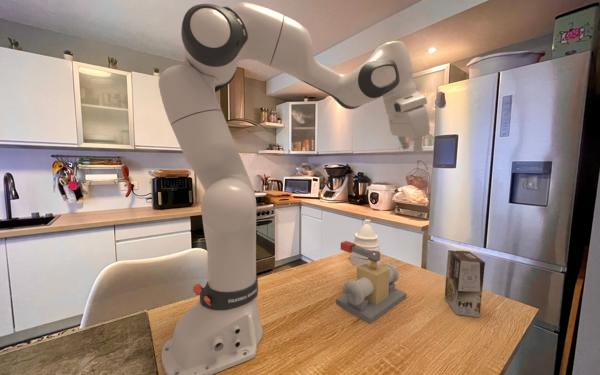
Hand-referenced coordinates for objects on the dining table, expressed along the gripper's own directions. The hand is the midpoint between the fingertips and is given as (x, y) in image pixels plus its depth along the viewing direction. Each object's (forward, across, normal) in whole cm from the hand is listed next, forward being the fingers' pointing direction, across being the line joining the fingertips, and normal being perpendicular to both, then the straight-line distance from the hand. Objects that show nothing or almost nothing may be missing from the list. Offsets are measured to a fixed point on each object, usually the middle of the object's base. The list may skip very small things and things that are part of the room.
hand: (411, 150), depth 72 cm
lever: (+27, +3, -23) cm, 36 cm away
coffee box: (+49, +10, 0) cm, 50 cm away
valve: (+40, +8, -24) cm, 48 cm away
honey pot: (+46, -21, -22) cm, 55 cm away
